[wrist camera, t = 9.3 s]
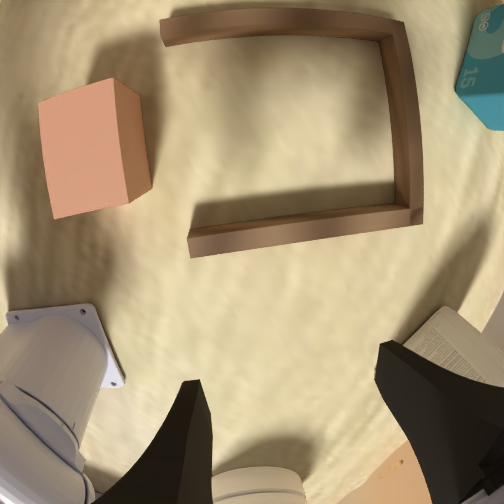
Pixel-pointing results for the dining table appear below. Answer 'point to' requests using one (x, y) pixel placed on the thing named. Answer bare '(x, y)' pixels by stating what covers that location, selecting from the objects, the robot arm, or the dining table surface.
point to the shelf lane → (401, 116)
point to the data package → (485, 69)
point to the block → (93, 148)
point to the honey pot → (258, 486)
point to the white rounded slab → (458, 348)
